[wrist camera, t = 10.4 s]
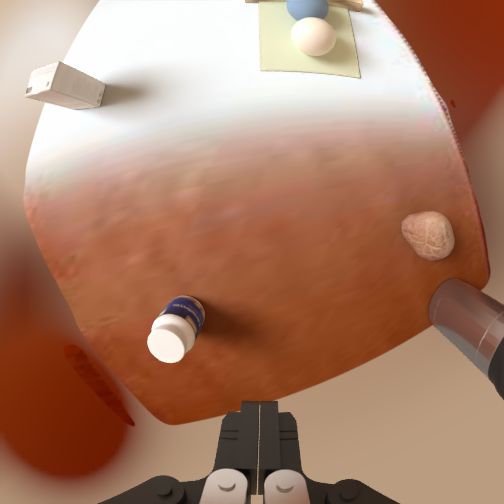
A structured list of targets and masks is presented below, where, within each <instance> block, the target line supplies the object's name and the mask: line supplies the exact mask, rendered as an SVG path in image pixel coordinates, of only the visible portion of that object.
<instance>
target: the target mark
mask: <svg viewBox="0 0 504 504" xmlns="http://www.w3.org/2000/svg"><path fill="white" fill-rule="evenodd" d="M258 4H259V37H260V71H294V72H311V73H323V74H332V75H341V76H348V77H355V78H360V73H359V66H358V59H357V53H356V47H355V42H354V36H353V31H352V26H351V21H350V17H349V12H348V9H345V8H340V7H333V6H329V11H328V14H327V16H326V17H325V18H324V19H323V20H324V21H326V22H327V23H329V24H330V25H331V26H332V28H333V29H334V31H335V34H336V43H335V45H334V47H333V48H332V50H331V51H329V52H328V53H326V54H324V55H320V56H311V55H307V54H305V53H303V52H301V51H300V50H298V49H297V48H296V47H295V45H294V44H293V42H292V39H291V31H292V28H293V26H294V25H295V24H296V23H297V22H298V21H297V20H296V19H294V18H293V17H292V16H291V15H290V14H289V12H288V10H287V7H286V2H271V1H258Z"/></svg>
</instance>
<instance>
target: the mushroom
mask: <svg viewBox="0 0 504 504" xmlns="http://www.w3.org/2000/svg"><path fill="white" fill-rule="evenodd" d="M401 223H402V224H401V226H402V227H401V230H402V234H403V236H404V238H405V240H407V242H408V243H409V244H410V245H411V246H412V248H413V249H414V251H415V252H416V253H417V254H418V255H419V257H422V258H424V259H427V260H432V261H433V260H438V259H443V258H445V257H447V256H448V255H449V254H450V253H451V251H452V250H453V248H454V243H455V238H454V233H453V229H452V227H451V224H450V222H449V221H448V219H447V218H446V217H445V216H444V215H443V214H440V213H438V212H436V211H422V212H419V213H413V214H411V215H409V216H407V217H406V218H405V219H404V220H403V221H402V222H401Z"/></svg>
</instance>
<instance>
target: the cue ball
mask: <svg viewBox="0 0 504 504" xmlns="http://www.w3.org/2000/svg"><path fill="white" fill-rule="evenodd" d="M291 39H292V42H293V44H294V45H295V47H296V48H297V49H298V50H300V51H301V52H303V53H305V54H307V55H311V56H320V55H324V54H326V53H328V52H329V51H331V50H332V48H333V47H334V45H335V43H336V34H335V31H334V29H333V28H332V26H331V25H330V24H329V23H327V22H326V21H324V20H322V19H320V18H315V17H308V18H304V19H301V20H299V21H298V22H297V23H296V24H295V25H294V26H293V28H292V31H291Z"/></svg>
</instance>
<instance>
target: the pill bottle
mask: <svg viewBox="0 0 504 504" xmlns="http://www.w3.org/2000/svg"><path fill="white" fill-rule="evenodd" d="M204 320H205V312H204V309H203V307H202V305H201V304H200V303H199V302H198V301H197V300H196V299H194V298H192V297H190V296H178V297H176V298H174V299H173V300H172V301H171V302H170V303H169V304H168V305H167V307H166V308H165V309H164V310H163V312H162V313H161V314H160V315H159V316H158V318H157V319H156V320H155V321H154V323H153V326H152V332H151V333H150V335H149V337H148V347H149V349H150V351H151V353H152V354H153V355H154V356H155V357H156V358H157V359H159V360H161V361H163V362H167V363H175V362H178V361H180V360H181V359H182V358H183V356H184V354H185V353H186V352H187V351H189V350H190V349H191V348H192V346H193V345H194V343H195V340H196V338H197V336H198V334H199V332H200V329H201V327H202V325H203V323H204Z"/></svg>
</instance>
